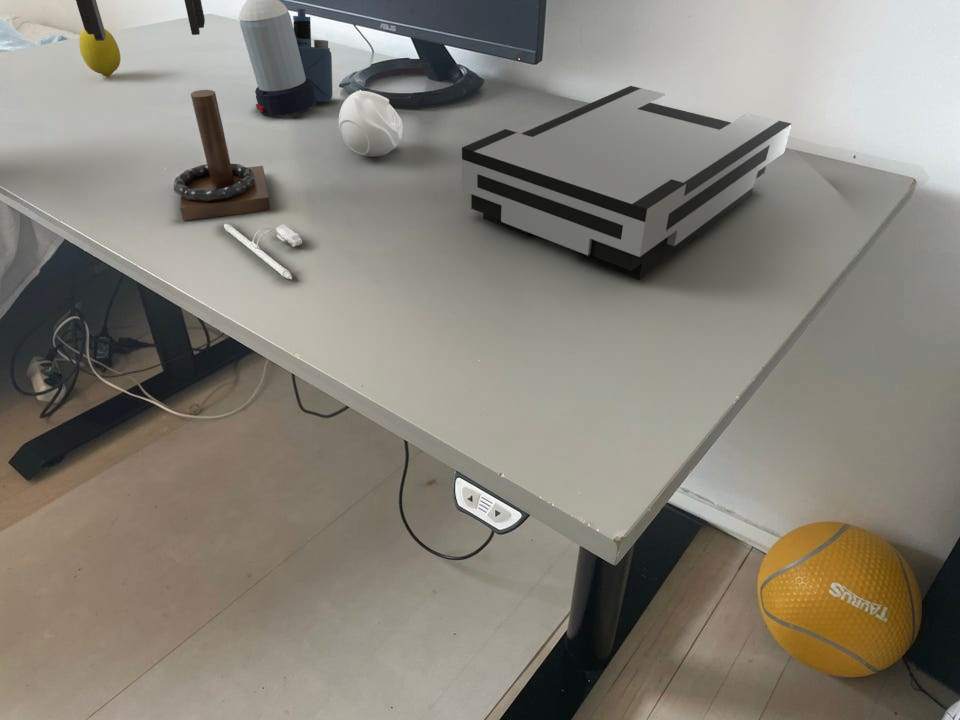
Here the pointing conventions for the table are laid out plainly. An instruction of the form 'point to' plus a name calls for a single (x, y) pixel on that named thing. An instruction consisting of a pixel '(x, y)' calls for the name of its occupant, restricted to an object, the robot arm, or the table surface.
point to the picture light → (284, 235)
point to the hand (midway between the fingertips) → (149, 36)
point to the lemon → (100, 53)
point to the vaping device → (314, 58)
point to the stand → (220, 168)
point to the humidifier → (275, 59)
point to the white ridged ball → (369, 124)
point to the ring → (213, 194)
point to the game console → (621, 176)
